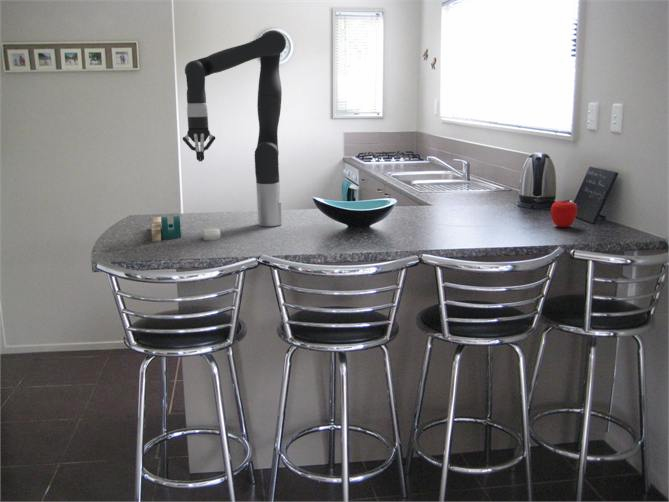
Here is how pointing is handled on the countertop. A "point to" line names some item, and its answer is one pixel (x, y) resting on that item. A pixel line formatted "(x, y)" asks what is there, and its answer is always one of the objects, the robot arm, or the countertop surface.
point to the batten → (156, 229)
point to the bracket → (171, 228)
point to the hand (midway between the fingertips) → (200, 161)
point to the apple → (563, 213)
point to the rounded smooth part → (211, 233)
